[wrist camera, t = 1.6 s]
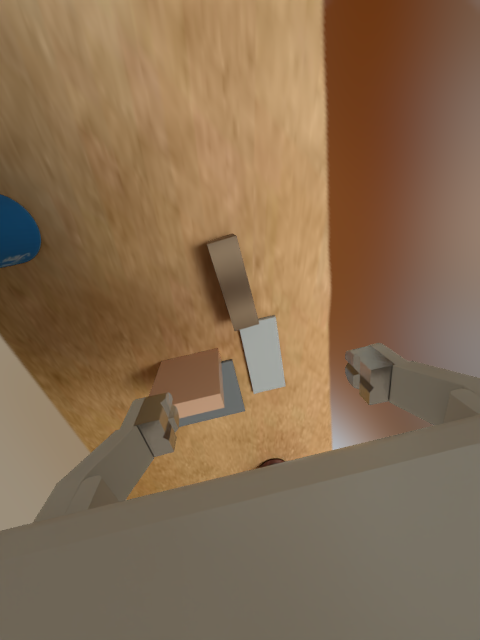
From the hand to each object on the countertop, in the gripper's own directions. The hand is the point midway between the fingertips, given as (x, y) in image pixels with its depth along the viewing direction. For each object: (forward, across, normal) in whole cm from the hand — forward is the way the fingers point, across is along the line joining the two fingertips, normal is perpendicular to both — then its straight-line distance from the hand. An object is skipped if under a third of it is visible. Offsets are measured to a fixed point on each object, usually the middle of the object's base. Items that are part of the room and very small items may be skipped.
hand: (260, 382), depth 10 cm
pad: (+19, -2, +11) cm, 22 cm away
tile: (+19, +8, +9) cm, 23 cm away
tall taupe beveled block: (+19, 0, -1) cm, 19 cm away
